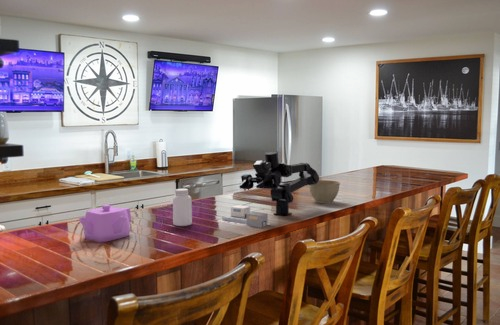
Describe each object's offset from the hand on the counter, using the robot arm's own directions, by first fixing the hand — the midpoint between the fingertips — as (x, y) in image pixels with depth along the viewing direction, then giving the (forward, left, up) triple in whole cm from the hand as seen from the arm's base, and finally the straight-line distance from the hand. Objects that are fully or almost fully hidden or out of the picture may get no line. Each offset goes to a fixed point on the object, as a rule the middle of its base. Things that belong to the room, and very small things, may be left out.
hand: (248, 187), depth 205 cm
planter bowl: (-64, +5, -16) cm, 66 cm away
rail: (0, -3, -16) cm, 16 cm away
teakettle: (+47, -34, -16) cm, 60 cm away
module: (-11, -12, -16) cm, 23 cm away
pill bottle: (+15, -24, -16) cm, 32 cm away
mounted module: (0, +4, -16) cm, 16 cm away
